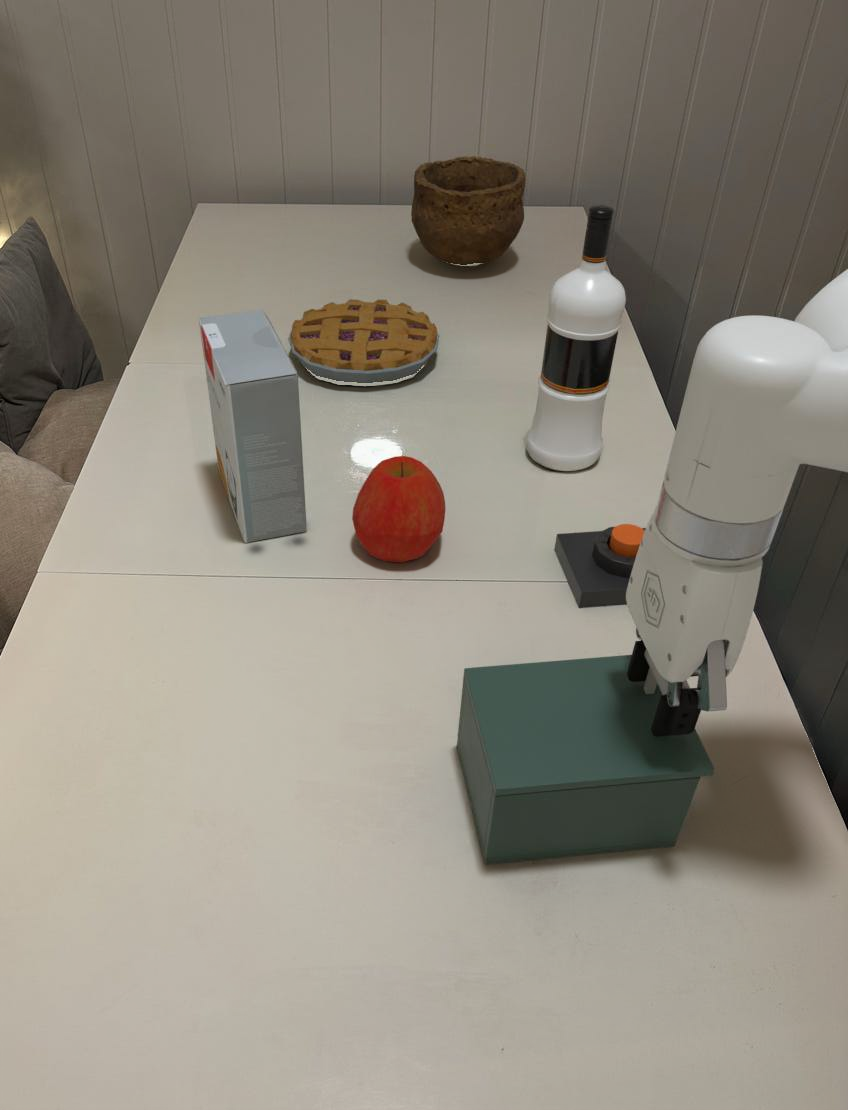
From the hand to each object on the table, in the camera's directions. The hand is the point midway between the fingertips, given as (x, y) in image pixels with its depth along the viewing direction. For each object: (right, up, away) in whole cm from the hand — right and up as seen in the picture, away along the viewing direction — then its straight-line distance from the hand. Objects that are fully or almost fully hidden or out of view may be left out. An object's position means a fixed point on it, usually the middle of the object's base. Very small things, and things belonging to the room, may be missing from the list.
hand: (659, 702), depth 74 cm
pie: (-23, +46, +65) cm, 83 cm away
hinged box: (-6, -8, +7) cm, 12 cm away
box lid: (-6, -2, +1) cm, 6 cm away
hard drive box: (-35, +21, +38) cm, 56 cm away
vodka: (+2, +28, +46) cm, 54 cm away
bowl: (-6, +70, +91) cm, 115 cm away
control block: (+4, +12, +28) cm, 31 cm away
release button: (+4, +15, +26) cm, 30 cm away
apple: (-19, +15, +32) cm, 41 cm away
